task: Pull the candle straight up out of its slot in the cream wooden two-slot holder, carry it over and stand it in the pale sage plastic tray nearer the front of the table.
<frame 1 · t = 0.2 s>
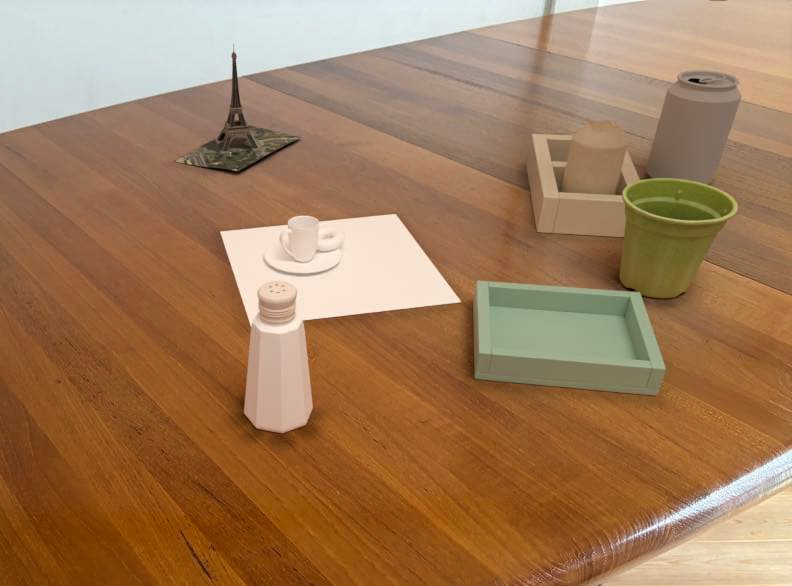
can: (676, 182, 98), on the table
holder: (578, 198, 94), on the table
teacup and saucer: (331, 265, 83), on the table
tray: (557, 346, 70), on the table
pepper shaker: (278, 414, 64), on the table
candle: (581, 216, 91), resting in holder
eiffel tower figurine: (239, 152, 109), on the table
plant pot: (652, 285, 78), on the table
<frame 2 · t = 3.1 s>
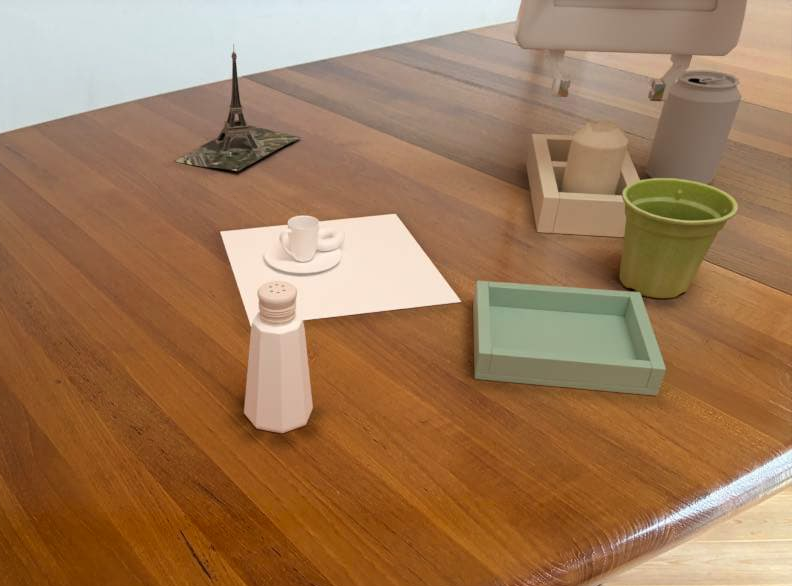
hand: (607, 97, 83), 13 cm above the table, tool pointing down, fingers open, 8 cm apart
nothing on the table moved.
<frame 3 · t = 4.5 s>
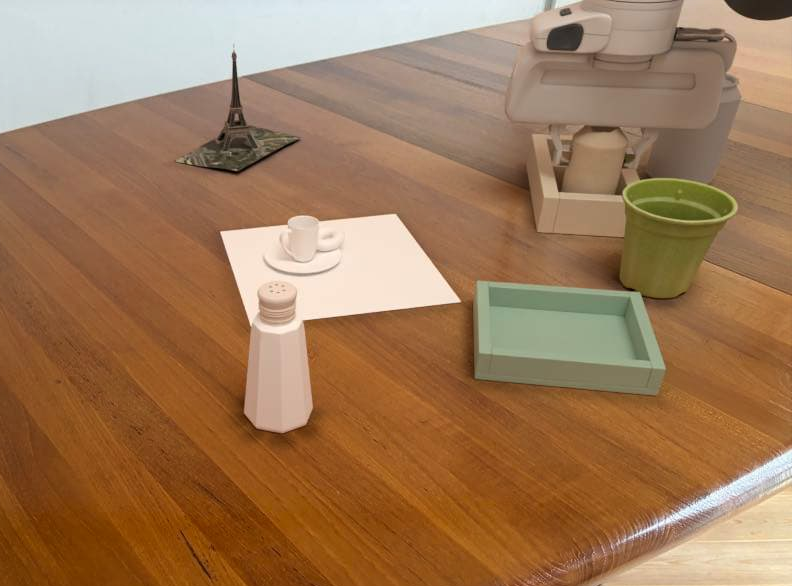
hand: (593, 165, 87), 6 cm above the table, tool pointing down, fingers closed on candle, 5 cm apart
candle: (582, 216, 91), resting in holder, touching gripper
everything else where it was.
when the fingers open (6 cm above the table, at t = 12.8 s): candle stays where it is, resting on tray.
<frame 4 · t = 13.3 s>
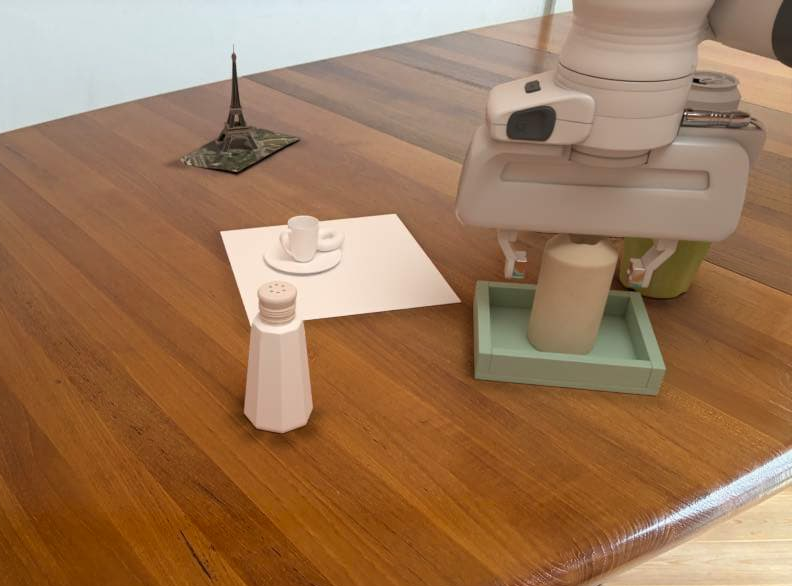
hand: (573, 279, 66), 7 cm above the table, tool pointing down, fingers open, 8 cm apart
candle: (559, 342, 70), resting on tray
everything else where it was.
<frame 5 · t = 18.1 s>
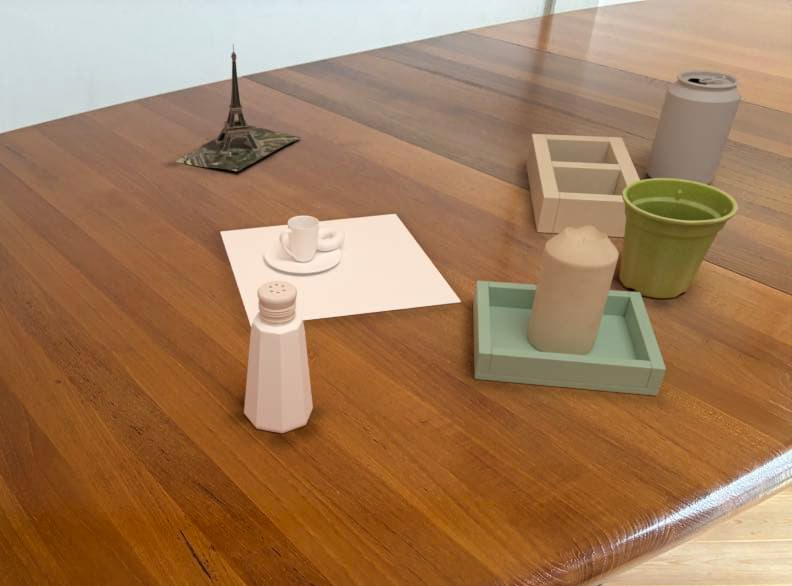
nothing on the table moved.
at the end: candle inside the target area in the tray (0.1 cm from its centre), point 0.4 cm above the tray's base; candle tilted 0°; candle touching tray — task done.
